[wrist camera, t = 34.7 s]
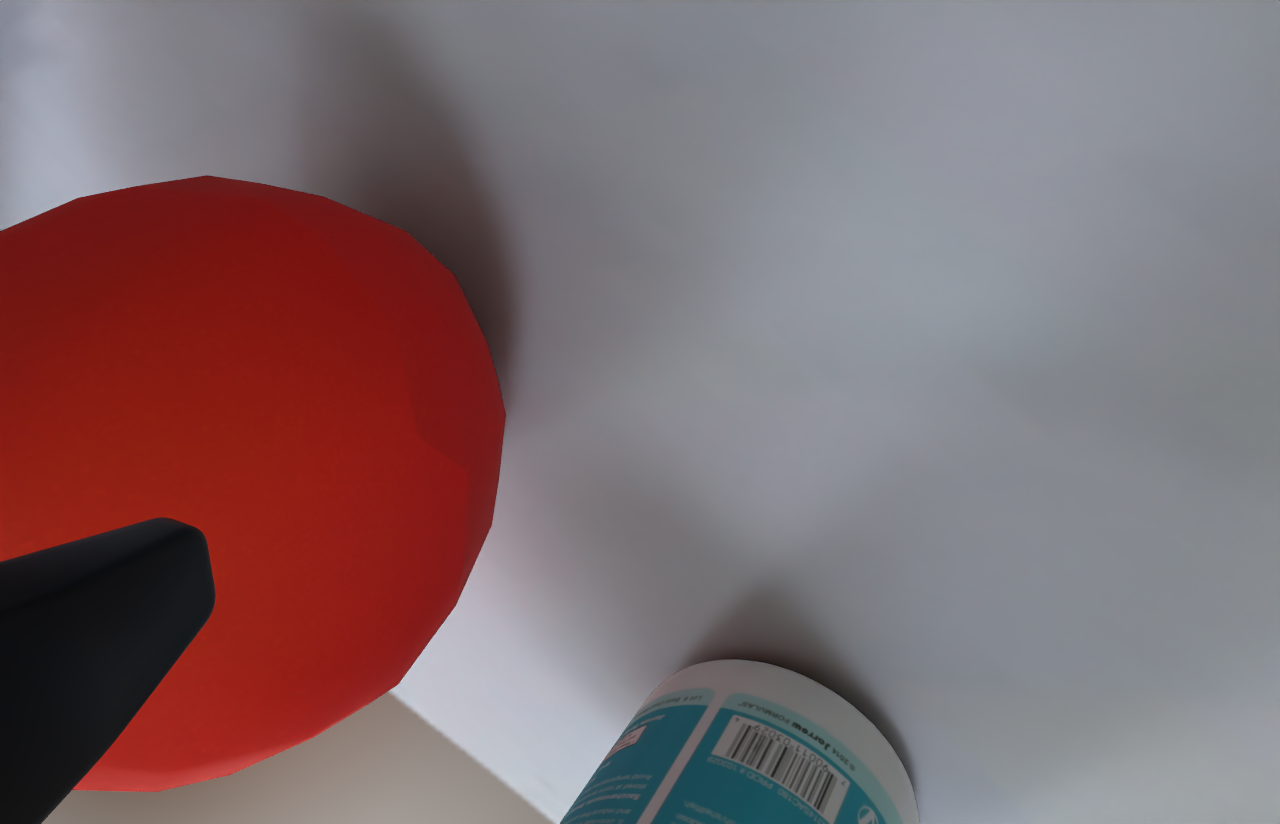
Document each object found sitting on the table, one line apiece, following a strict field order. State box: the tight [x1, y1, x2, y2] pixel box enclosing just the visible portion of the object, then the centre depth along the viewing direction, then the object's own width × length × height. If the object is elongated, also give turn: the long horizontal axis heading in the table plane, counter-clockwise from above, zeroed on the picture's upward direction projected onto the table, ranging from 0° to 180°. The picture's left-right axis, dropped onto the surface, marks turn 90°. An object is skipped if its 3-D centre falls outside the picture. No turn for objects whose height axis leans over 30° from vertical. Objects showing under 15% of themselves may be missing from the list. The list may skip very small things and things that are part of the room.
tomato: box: [0, 176, 506, 792], centre depth 20 cm, size 12×12×13 cm
